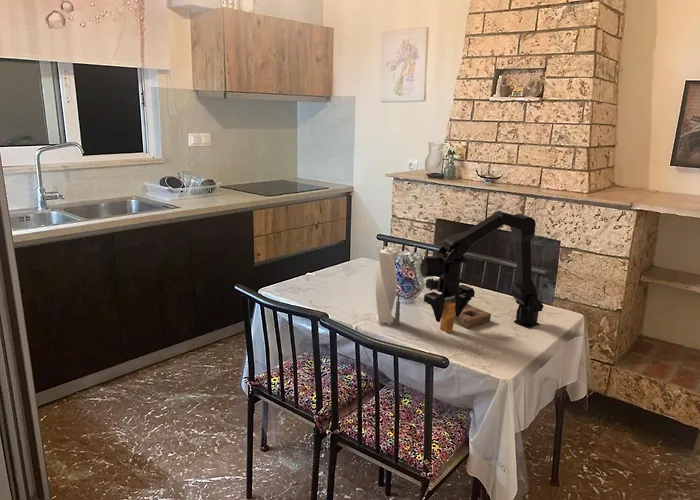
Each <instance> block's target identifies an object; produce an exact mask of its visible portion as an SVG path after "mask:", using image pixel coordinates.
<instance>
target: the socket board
mask: <svg viewBox="0 0 700 500" xmlns="http://www.w3.org/2000/svg"><path fill="white" fill-rule="evenodd" d="M445 301H451V302H453V303H455V308H456V299H455V297H452V298H448V299H445ZM491 315H492V314H491V313H490V312H487V311H485V310H482V309H481V308H479V307H476V306H473V305H471V304H469V303H467V305H466V306H465V307H464V309H463V310H462V312H461V314H460V315H459V316H458V317H457V316H456V315H455V312H454V322H453V324H455V325H457V326H460V327H462V328H464V329H467V330H469V329H471V328H474V327H478V326H481V325H484V324H487V323H488V324H489V323H491V319H492V318H491V317H492V316H491Z"/></svg>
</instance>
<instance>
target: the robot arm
mask: <svg viewBox="0 0 700 500" xmlns="http://www.w3.org/2000/svg"><path fill="white" fill-rule="evenodd" d="M536 224H537V223H536V220H535V219H534V218H533V217H531V216H529V215H528V216H527V215H525V214H523V213H516V214H512V213H508V212H504V211H502V210H496V211H495V212H494V213H493V214H491V215H490V216H488V217H486V218H485V219H483V220H482V221H480V222H477V224H475V225H473V226H472V227H470V228H468V229H467V230H465V231H463V232H458V233H455V234H452V235H449V236H447V237H445V239H444V240H443V243H442V245H441V246H440V247H439V248H438V250H437V252H435V255H424V256H423V259H422V260H421V263H420V264H419V266H420V270H419V272H420V273H421V276H422V277H423V278H428V279H426V281H425V288H426V289H429V291H432V292H426V293H425V294H424V295H423V302H424V303H426V304H428V305H430V307H431V309H432V311H433V314H434V318H435V321H436V322H437V323H441V317H442V313H443V310H444V307H445V305H443V304H444V303H445V299H448V298H452V297H455V299H456V308H455V315H456V316H457V317H458V316H459V315H460V314H461V312H462V310H463V309H464V307H465V306H466V305H467V304H469V302H470V301H471V300H472V298H474V297H475V289H474V288H473V287H471V286H468V285H466V284H461V283H463V281H464V279H463V278H461V272H462V263H463V264H465V263H466V264H467V263H469V260H468V259H467V258H466V257H465V254H466V253H468V252H469V250H471V248H472V246H473V245H474V244H475V243H477V242H479V241H480V240H482V239H483V238H485V237H486V236H488V235H490V234H492V232H494V231H496V230H498V229H499V228H501V227H502V226H507V227H510V232H511V235H512V237H513V238H514V240H515V254H516V255H515V256H516V258H515V259H516V277H517V278H516V281H515V283H513V284H512V283H511V285H510V287H511V296H513V299H514V300H515V303H516V304H517V305H518V307H517V308H516V316H515V320H514V321H513V323H514V324H517V325H519V326H522V327H523V328H527V329H531V328H533V327H537V326H539V325H540V322H538V318H539V313H540V312H542V311H543V308H544V307H545V306H544V304H543V303H542V302H541V301H540V300H539V294H538V291H537V288H536V286H535V283H534V281H533V272H532V270H533V269H532V267H533V266H532V245H531V244H532V239H533V238H534V236H535V234H536V227H537V226H536ZM446 253H447V254H446ZM429 277H430V278H429ZM433 277H439V278H438V279H434V278H433ZM435 291H436V292H435ZM437 292H438V293H437Z"/></svg>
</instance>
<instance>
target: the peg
mask: <svg viewBox="0 0 700 500" xmlns="http://www.w3.org/2000/svg"><path fill="white" fill-rule="evenodd" d="M443 305H445V307H444V310H443V313H442V317H441V319H440V326H439V330H440V331H442V332H443V333H446V334H448V333H450V332H453V331H454V323H453V322H454V312H455V303H453V302H451V301H445V303H444V304H443Z"/></svg>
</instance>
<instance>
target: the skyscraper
mask: <svg viewBox="0 0 700 500" xmlns="http://www.w3.org/2000/svg"><path fill="white" fill-rule="evenodd" d="M379 247H381V248H384V249H382V250H379ZM376 249H377V254H378V263H379V264H378V268H377V272H376V277H375V303H376V314H375V317H374V319H375V318H376V319H377V321H376V322H377V323H378V324H379V326H380V325H381V326H380V327H388V326H387V325H392V326H400V325H401V324H400V316H401V314H400V309H401V302H400V297H401V295H400V289H398V275H397V273H398V272H397V268H396V262H397V258H398V254H399V250H398V249H397V248H395V247H392V246H385V245H381V244H377V245H376ZM397 290H398V292H397ZM396 297H397V298H396ZM394 305H395V313H394V316H393V314H392V311H393V308H394ZM376 319H375V320H376ZM389 323H390V324H389Z"/></svg>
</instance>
